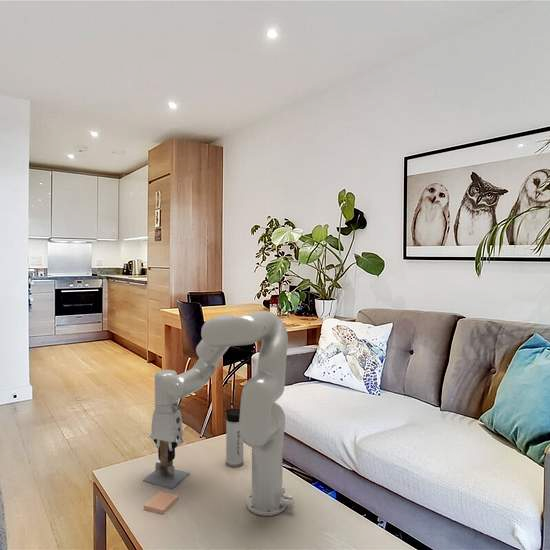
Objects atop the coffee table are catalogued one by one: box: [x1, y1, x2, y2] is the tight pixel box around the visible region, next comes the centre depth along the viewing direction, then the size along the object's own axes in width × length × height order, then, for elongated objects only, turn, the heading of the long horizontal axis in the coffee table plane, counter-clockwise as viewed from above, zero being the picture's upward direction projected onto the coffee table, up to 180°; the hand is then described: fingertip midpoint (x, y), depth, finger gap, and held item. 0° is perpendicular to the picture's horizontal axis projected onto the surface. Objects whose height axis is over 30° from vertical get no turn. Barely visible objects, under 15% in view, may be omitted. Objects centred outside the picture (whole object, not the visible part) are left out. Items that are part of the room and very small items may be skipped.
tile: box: [143, 491, 179, 516], centre depth 132 cm, size 7×2×8 cm
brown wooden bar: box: [155, 440, 175, 478], centre depth 147 cm, size 7×3×14 cm, turn 68°
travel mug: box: [225, 408, 244, 468], centre depth 157 cm, size 6×7×20 cm
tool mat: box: [142, 468, 190, 490], centre depth 147 cm, size 12×10×1 cm
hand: (166, 458), depth 147 cm, fingers closed on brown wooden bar, 3 cm apart
